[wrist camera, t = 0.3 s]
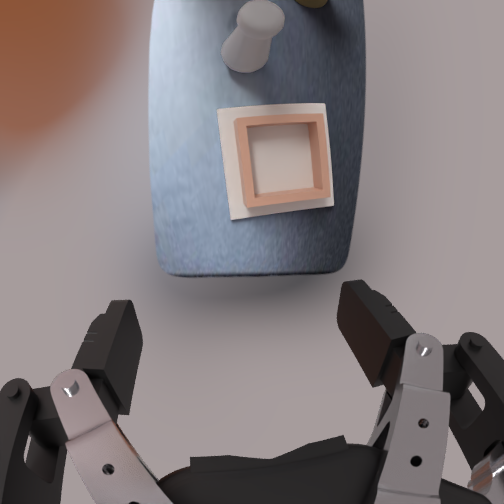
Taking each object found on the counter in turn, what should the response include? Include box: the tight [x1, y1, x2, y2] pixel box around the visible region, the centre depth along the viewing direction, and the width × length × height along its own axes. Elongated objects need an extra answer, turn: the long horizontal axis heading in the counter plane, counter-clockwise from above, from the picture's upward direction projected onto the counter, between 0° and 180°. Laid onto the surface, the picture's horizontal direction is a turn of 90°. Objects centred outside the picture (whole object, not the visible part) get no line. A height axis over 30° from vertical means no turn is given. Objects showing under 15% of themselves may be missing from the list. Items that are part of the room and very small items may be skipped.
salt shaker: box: [221, 0, 285, 73], centre depth 24 cm, size 6×6×13 cm
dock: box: [217, 103, 334, 220], centre depth 33 cm, size 14×14×4 cm
